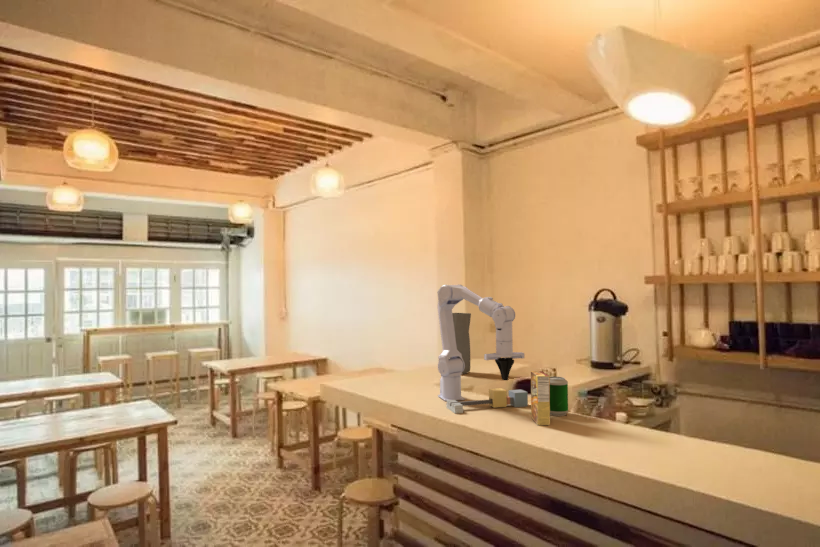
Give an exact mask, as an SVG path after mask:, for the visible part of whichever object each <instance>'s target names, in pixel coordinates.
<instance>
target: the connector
mask: <svg viewBox="0 0 820 547" xmlns="http://www.w3.org/2000/svg"><path fill="white" fill-rule="evenodd" d="M528 393H529V392H528V391H526V390H524V389H509V390H508V395H507V396H508V397H510V405H509V406H512V407H514V408H521V407H522V408H523V407H528V404H529V403H528V402H529V401H528V398H529V397H528V396H529V394H528Z"/></svg>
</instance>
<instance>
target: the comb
mask: <svg viewBox="0 0 820 547" xmlns="http://www.w3.org/2000/svg"><path fill="white" fill-rule="evenodd" d="M451 402H458V400H447V401H446V405H445V407H446V409H448V410H449V411H451V412H452V413H453V414H463V413H464V406H463V405H462V404H460V403H451Z"/></svg>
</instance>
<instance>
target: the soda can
mask: <svg viewBox="0 0 820 547" xmlns="http://www.w3.org/2000/svg"><path fill="white" fill-rule="evenodd" d="M568 384H569V382H568V380H566V377H563V376H550V416H553V417H554V416H555V417H564V416H566V415H567V414H568V413H569V385H568Z"/></svg>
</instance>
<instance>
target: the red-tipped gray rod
mask: <svg viewBox="0 0 820 547" xmlns="http://www.w3.org/2000/svg"><path fill="white" fill-rule="evenodd" d="M508 396H509V395H507V405H508V406H511V405H510V397H508ZM451 403H460V404H462V405H463V407H466V406H478V405H480V406H481V405H489V404H493V399H490V400H489V399H480V400H479V399H478V400H465V401H464V400H463V401H457V402H451Z"/></svg>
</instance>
